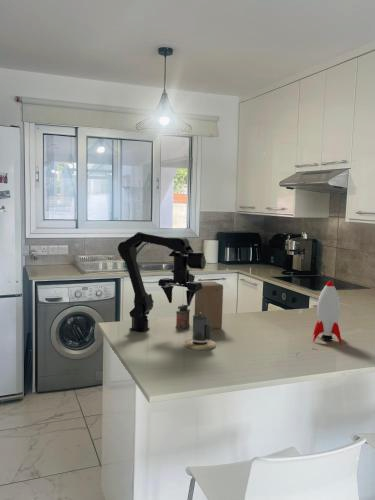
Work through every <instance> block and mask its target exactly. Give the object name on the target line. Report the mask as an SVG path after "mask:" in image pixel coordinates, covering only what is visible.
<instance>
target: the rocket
mask: <svg viewBox="0 0 375 500" xmlns="http://www.w3.org/2000/svg"><path fill="white" fill-rule="evenodd" d="M316 309H317V310H316V311H317V312H316V313H317V319H318V320H317V321H316V324H315V327H314V329H313V333H312V334H313V335H312V336H313V339H312V340H313V341H312V343H314V342H315V341H316V340H317V337H319V335H320V334H321V339H323V340H329V341H330V340H333V339H334V338H333V336H334V335H335V337H336V338H337V340H338V342H339V343H340V345H341V346H342V345H343V344H342V337H341V331H340V327H339V323H338V322H339V318H340V313H341V301H340V298H339V294H338V291H337V289H336V286H335V284H334V283H333V282H332V280H329V281H327V283H326V284H325V286H324V287H323V289H321V292H320V293H319V297H318V301H317V305H316Z"/></svg>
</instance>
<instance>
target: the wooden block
mask: <svg viewBox="0 0 375 500" xmlns="http://www.w3.org/2000/svg"><path fill="white" fill-rule="evenodd" d="M200 282H201V284H202V289H200V290H199V291H196V293H195V294H194V315H197V314H199V313H200V312H201V313H202V315H207V316H208V325H211V330H217V329H221V328H222V327H223V307H224V306H223V302H224V285H223V284H222V283H221V284H220V283H218V282H216V281H200Z"/></svg>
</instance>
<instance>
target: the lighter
mask: <svg viewBox="0 0 375 500" xmlns="http://www.w3.org/2000/svg"><path fill="white" fill-rule="evenodd" d="M190 312H191V309H190V308H189V306H187V304H181V305H178V306H177V310H176V311H175V313H176V321H175V322H176V323H175V329H178V330H180V329H185V328H187V327H189V326H190Z"/></svg>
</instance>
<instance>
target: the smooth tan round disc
mask: <svg viewBox="0 0 375 500" xmlns="http://www.w3.org/2000/svg"><path fill="white" fill-rule="evenodd" d="M184 346H185V347H186V348H187V349H189V350H194V351H195V350H196V351H210V350H212V349H215V348H216V347H217V345H216V342H215V340H212V339H211V340H207V344H205V345H196V344H193V343H192V338H190V339H187V340H185V341H184Z"/></svg>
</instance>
